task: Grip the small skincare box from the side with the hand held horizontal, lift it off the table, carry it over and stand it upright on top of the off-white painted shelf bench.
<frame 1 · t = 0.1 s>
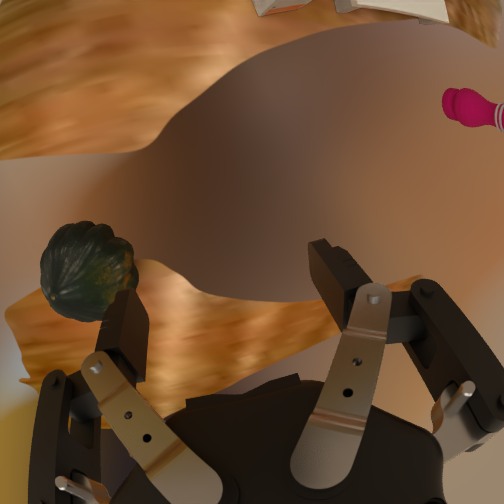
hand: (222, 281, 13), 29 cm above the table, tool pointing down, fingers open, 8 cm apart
squash: (96, 251, 42), on the table
skincare box: (274, 1, 28), on the table
pepper mill: (451, 103, 39), on the table
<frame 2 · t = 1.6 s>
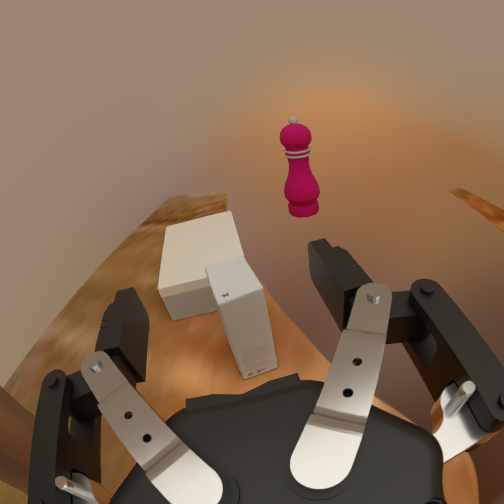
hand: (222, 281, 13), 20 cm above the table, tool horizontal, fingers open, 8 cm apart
shelf bench: (209, 274, 48), on the table
skincare box: (253, 356, 33), on the table
pepper mill: (303, 211, 61), on the table
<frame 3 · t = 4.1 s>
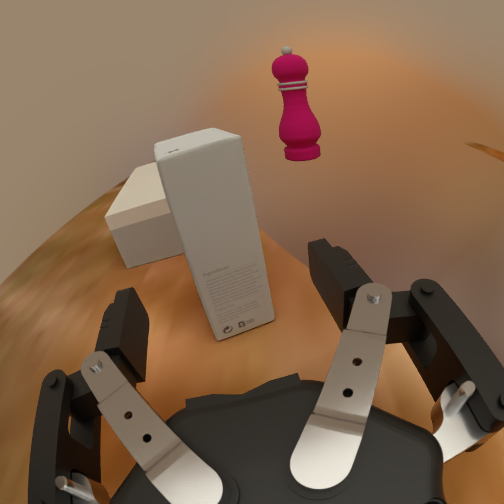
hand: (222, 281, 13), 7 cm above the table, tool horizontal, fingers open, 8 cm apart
shelf bench: (182, 216, 36), on the table
skincare box: (234, 306, 21), on the table
pepper mill: (303, 157, 49), on the table
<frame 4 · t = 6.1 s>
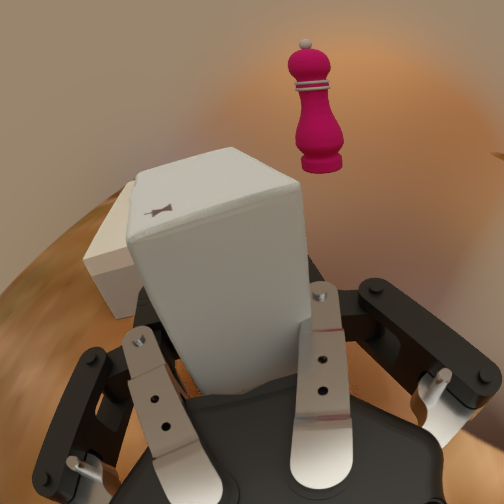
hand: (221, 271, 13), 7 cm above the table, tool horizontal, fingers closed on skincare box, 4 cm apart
shelf bench: (183, 246, 30), on the table
skincare box: (257, 393, 15), on the table, touching gripper
pepper mill: (322, 168, 43), on the table
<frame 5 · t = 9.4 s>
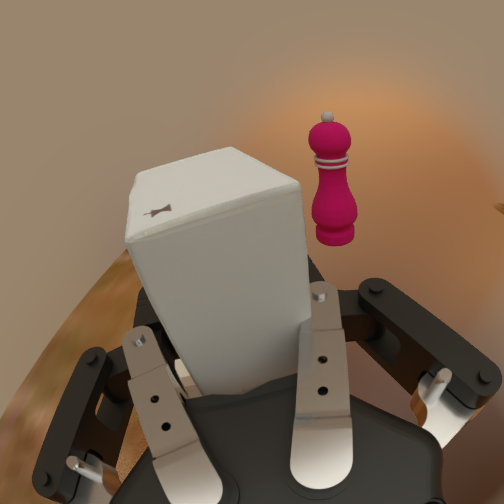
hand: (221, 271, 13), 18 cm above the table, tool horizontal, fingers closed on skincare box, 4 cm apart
shelf bench: (216, 337, 33), on the table
skincare box: (257, 393, 15), point 11 cm above the table, touching gripper
pepper mill: (335, 237, 46), on the table
when the fingers open (14 cm above the table, at t = 12.9 s): skincare box drops 1 cm, resting on shelf bench.
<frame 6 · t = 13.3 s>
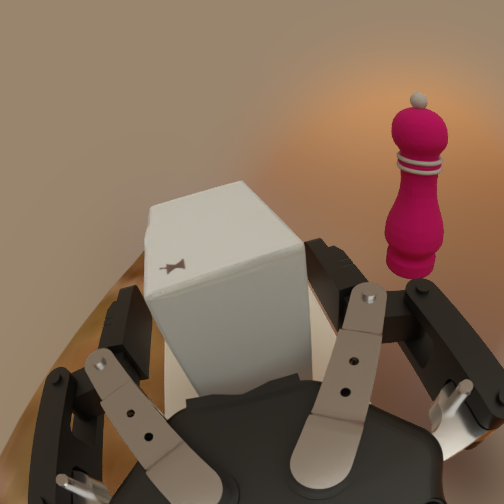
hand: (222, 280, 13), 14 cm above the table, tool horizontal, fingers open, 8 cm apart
shelf bench: (272, 435, 19), on the table
skincare box: (262, 405, 16), point 6 cm above the table, touching shelf bench
pepper mill: (409, 264, 32), on the table
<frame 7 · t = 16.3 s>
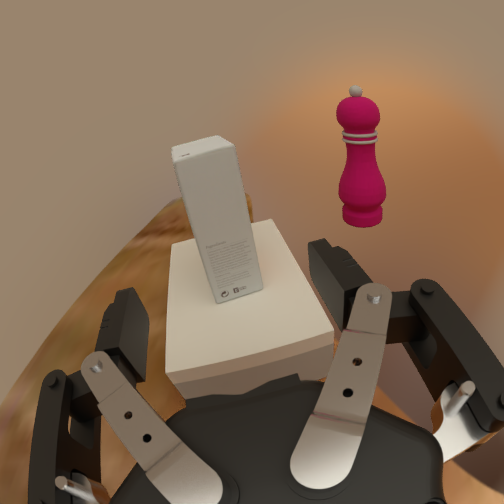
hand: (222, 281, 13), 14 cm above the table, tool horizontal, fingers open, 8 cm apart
shelf bench: (244, 322, 30), on the table
skincare box: (233, 278, 26), point 6 cm above the table, touching shelf bench
pepper mill: (362, 219, 43), on the table
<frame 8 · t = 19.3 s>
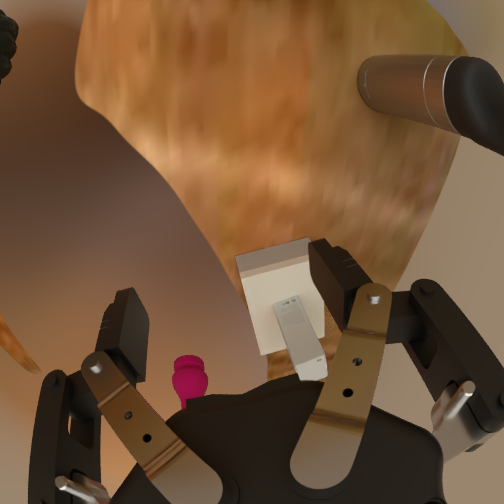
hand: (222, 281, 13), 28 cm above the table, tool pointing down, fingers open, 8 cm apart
shelf bench: (279, 289, 51), on the table
skincare box: (287, 311, 46), point 6 cm above the table, touching shelf bench
pepper mill: (188, 363, 57), on the table
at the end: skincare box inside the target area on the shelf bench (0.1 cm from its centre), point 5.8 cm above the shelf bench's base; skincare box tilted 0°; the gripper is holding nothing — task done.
